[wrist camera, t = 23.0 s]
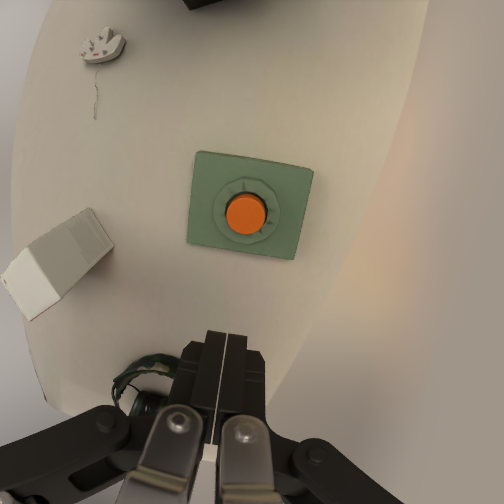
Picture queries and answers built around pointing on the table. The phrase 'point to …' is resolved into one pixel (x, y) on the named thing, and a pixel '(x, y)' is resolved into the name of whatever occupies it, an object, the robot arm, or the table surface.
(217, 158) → the control block
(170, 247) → the table surface
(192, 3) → the toaster
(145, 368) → the headphones
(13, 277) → the small box
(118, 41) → the game controller
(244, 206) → the button
